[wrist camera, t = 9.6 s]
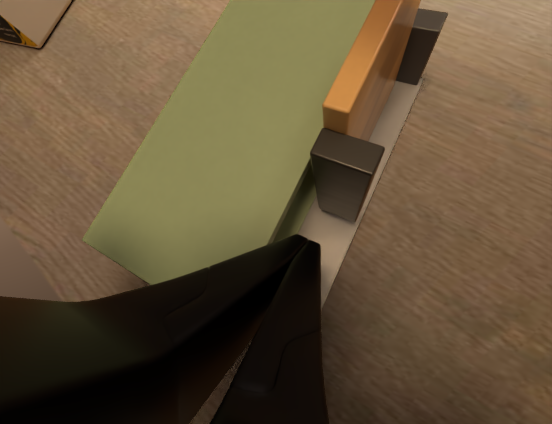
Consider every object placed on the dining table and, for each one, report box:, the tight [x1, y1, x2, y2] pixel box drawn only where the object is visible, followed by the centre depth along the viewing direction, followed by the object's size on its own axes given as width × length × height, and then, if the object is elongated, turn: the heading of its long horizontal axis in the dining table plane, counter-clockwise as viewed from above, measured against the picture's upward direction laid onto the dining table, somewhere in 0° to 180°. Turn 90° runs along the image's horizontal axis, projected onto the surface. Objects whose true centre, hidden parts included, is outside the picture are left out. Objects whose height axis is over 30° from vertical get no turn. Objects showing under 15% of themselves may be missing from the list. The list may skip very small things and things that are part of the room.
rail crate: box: [82, 0, 448, 309], centre depth 14 cm, size 18×11×5 cm, turn 153°
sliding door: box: [310, 0, 421, 222], centre depth 11 cm, size 9×2×8 cm, turn 153°
